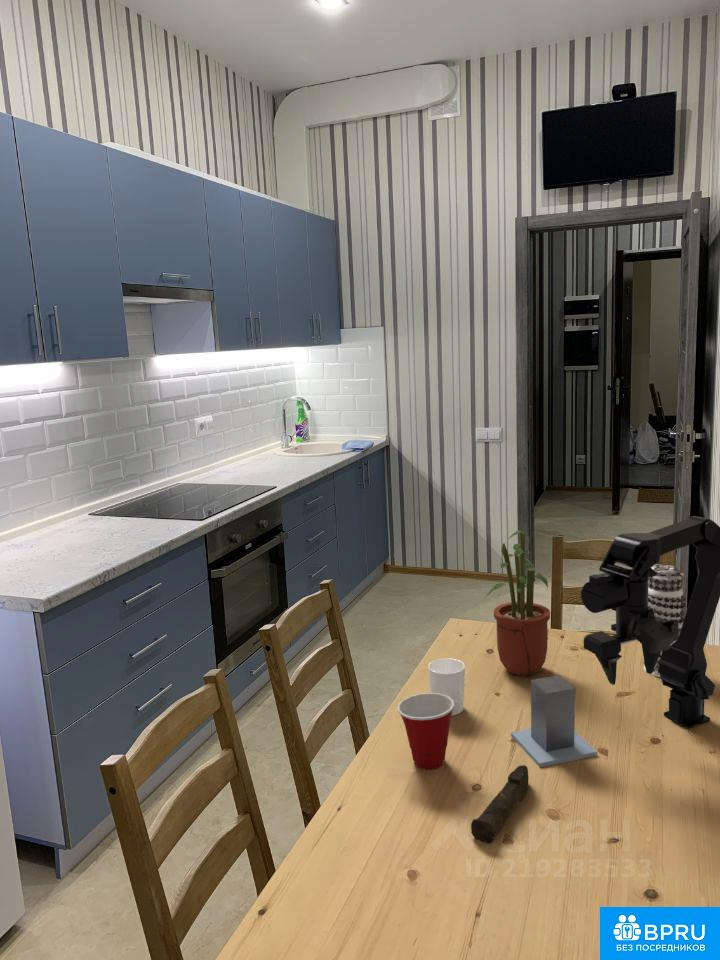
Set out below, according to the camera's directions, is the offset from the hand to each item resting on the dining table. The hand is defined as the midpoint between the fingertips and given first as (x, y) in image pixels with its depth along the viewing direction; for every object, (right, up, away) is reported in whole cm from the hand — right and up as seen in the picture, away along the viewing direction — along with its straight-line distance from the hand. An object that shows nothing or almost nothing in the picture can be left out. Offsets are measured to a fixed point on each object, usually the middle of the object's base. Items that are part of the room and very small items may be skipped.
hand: (630, 678), depth 145 cm
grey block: (-15, -13, +2) cm, 20 cm away
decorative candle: (+19, -7, +32) cm, 38 cm away
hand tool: (-28, -18, -17) cm, 37 cm away
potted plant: (-14, -7, +38) cm, 41 cm away
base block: (-15, -14, +2) cm, 20 cm away
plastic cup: (-39, -16, -1) cm, 42 cm away
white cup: (-33, -12, +19) cm, 40 cm away
